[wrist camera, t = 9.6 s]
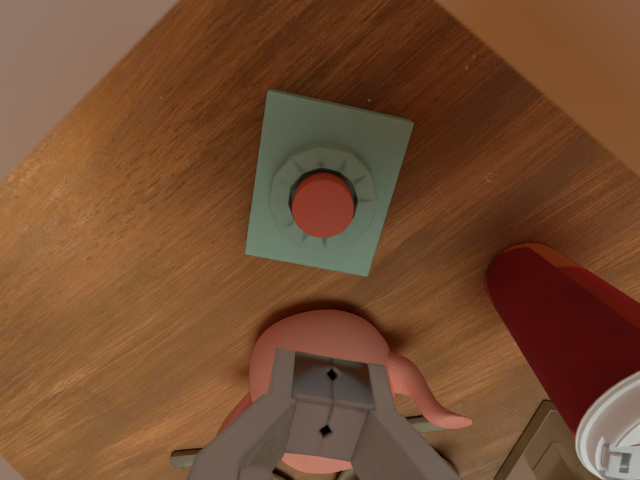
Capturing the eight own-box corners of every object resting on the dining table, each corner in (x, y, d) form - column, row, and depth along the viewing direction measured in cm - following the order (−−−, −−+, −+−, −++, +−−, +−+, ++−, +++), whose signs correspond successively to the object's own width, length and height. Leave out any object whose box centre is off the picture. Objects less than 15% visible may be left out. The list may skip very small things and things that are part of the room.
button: (299, 166, 22) (297, 173, 21) (358, 178, 22) (360, 186, 21) (289, 221, 24) (286, 232, 22) (344, 232, 24) (346, 243, 22)
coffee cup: (472, 326, 31) (588, 524, 18) (466, 239, 28) (604, 400, 14) (575, 309, 30) (781, 502, 17) (582, 217, 27) (846, 365, 14)
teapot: (210, 323, 31) (167, 419, 23) (423, 274, 29) (465, 359, 21) (257, 421, 36) (237, 531, 27) (443, 385, 34) (484, 492, 25)
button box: (271, 88, 24) (262, 91, 20) (407, 118, 24) (422, 126, 21) (249, 241, 28) (238, 266, 24) (364, 263, 29) (370, 290, 25)
